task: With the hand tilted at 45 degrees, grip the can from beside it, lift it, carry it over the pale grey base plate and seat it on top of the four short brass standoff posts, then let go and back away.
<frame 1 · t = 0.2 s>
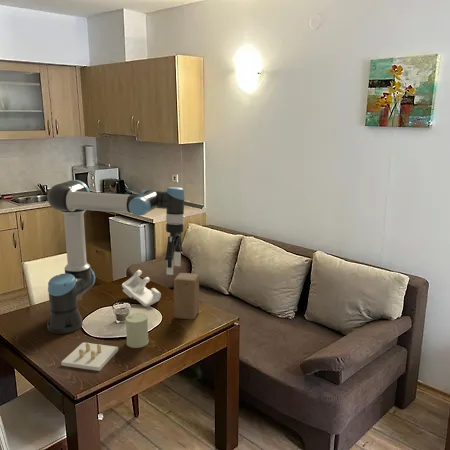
hand: (173, 270, 204), 27 cm above the table, tool pointing down, fingers open, 13 cm apart
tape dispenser: (142, 301, 239), on the table
standoff plate: (90, 357, 183), on the table
can: (137, 343, 196), on the table
wooden block: (187, 315, 222), on the table
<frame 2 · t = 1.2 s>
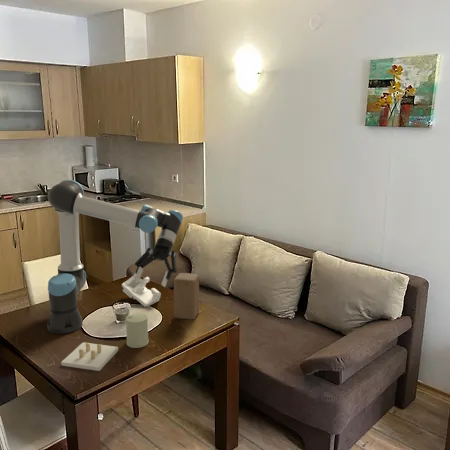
hand: (149, 283, 200), 23 cm above the table, tool tilted 45°, fingers open, 13 cm apart
nothing on the table moved.
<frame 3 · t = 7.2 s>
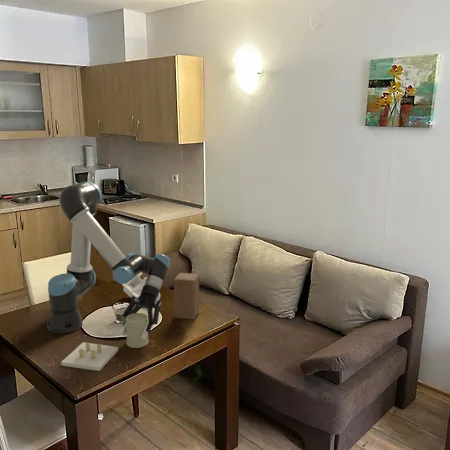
hand: (133, 336, 192), 4 cm above the table, tool tilted 45°, fingers closed on can, 9 cm apart
can: (137, 342, 196), on the table, touching gripper
everything else where it was.
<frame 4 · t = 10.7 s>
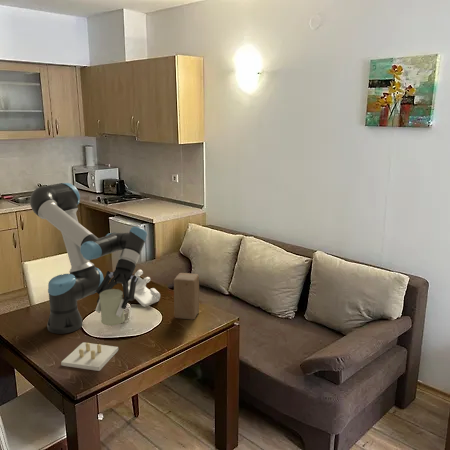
hand: (107, 313, 181), 18 cm above the table, tool tilted 40°, fingers closed on can, 9 cm apart
can: (113, 320, 185), point 14 cm above the table, touching gripper
everything else where it was.
when the fingers open (10 cm above the table, at t = 14.1 s): can drops 1 cm, resting on standoff plate.
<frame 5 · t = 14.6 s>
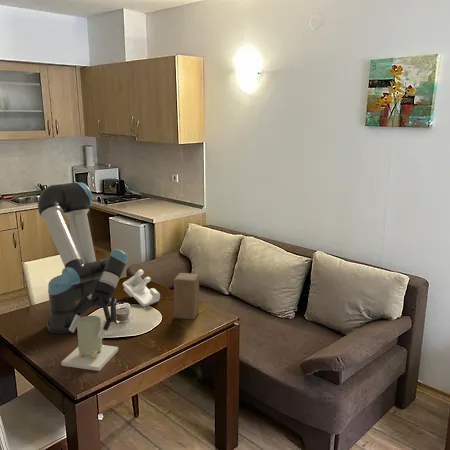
hand: (85, 334, 179), 11 cm above the table, tool tilted 45°, fingers open, 13 cm apart
can: (90, 347, 182), point 4 cm above the table, touching standoff plate
everything else where it was.
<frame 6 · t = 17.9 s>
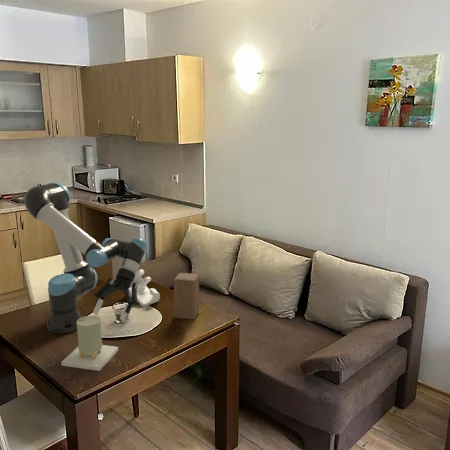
hand: (108, 317, 191), 12 cm above the table, tool tilted 45°, fingers open, 13 cm apart
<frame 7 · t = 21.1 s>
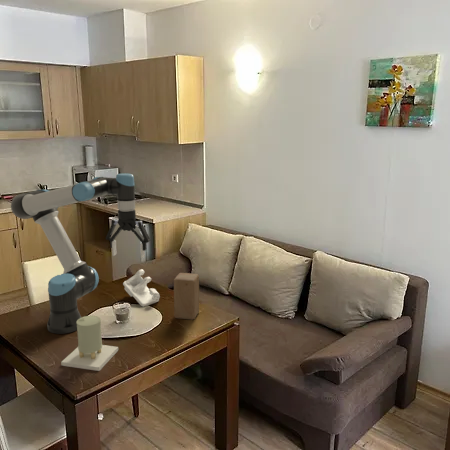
hand: (128, 256, 205), 33 cm above the table, tool pointing down, fingers open, 13 cm apart
at the end: can 0.1 cm off-centre on the standoff plate, point 4.3 cm above the standoff plate's base; can tilted 0°; the gripper is holding nothing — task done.
